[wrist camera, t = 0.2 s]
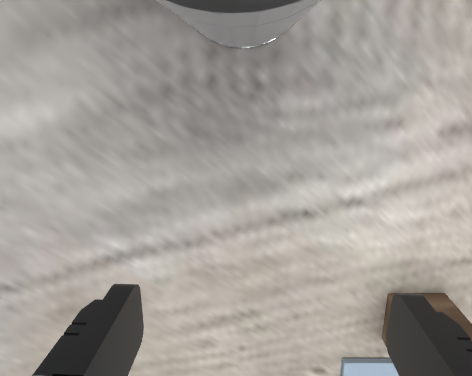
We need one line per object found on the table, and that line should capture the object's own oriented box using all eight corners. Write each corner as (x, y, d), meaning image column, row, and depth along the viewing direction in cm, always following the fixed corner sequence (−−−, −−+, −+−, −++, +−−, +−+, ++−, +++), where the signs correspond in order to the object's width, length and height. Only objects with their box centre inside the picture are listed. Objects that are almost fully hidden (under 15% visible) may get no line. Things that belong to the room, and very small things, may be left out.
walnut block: (388, 293, 31) (472, 429, 19) (444, 293, 31) (564, 430, 19) (381, 337, 33) (456, 486, 21) (435, 337, 32) (540, 487, 21)
